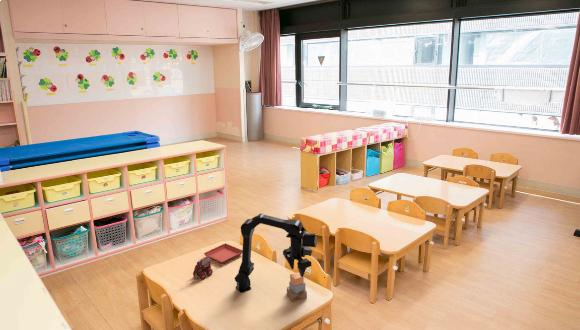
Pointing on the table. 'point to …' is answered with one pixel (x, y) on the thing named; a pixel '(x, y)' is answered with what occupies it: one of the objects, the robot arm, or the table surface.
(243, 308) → the table surface
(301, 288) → the grey block
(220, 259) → the red square tray
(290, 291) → the walnut base
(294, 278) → the terracotta block
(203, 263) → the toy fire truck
